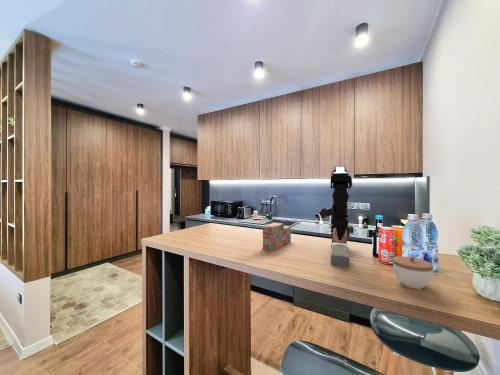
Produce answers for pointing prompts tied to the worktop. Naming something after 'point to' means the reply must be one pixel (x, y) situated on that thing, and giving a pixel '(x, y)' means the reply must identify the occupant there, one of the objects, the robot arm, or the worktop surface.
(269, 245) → the stack of blocks
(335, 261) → the charcoal base block
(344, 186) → the robot arm
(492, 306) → the worktop surface
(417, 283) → the lidded jar
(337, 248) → the sage top block
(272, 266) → the worktop surface
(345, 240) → the wooden block
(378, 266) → the worktop surface
